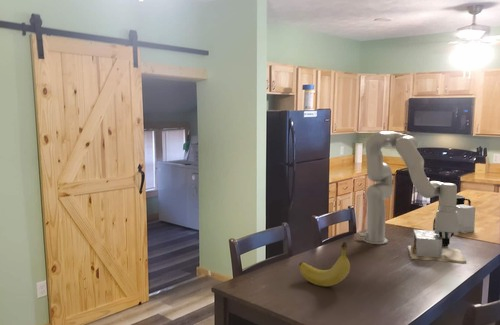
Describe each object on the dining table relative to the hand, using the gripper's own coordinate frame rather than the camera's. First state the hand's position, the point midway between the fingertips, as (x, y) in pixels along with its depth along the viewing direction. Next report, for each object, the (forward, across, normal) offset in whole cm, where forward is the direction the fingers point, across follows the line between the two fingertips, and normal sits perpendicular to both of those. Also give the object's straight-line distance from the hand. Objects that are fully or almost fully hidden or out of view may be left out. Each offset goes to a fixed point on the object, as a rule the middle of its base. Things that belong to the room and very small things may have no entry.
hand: (445, 245), depth 202 cm
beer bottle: (+5, -1, -19) cm, 20 cm away
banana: (+5, +54, +52) cm, 75 cm away
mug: (+5, -22, -100) cm, 102 cm away
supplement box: (+5, -18, -51) cm, 54 cm away
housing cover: (+4, +8, 0) cm, 9 cm away
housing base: (+5, +4, 0) cm, 7 cm away
